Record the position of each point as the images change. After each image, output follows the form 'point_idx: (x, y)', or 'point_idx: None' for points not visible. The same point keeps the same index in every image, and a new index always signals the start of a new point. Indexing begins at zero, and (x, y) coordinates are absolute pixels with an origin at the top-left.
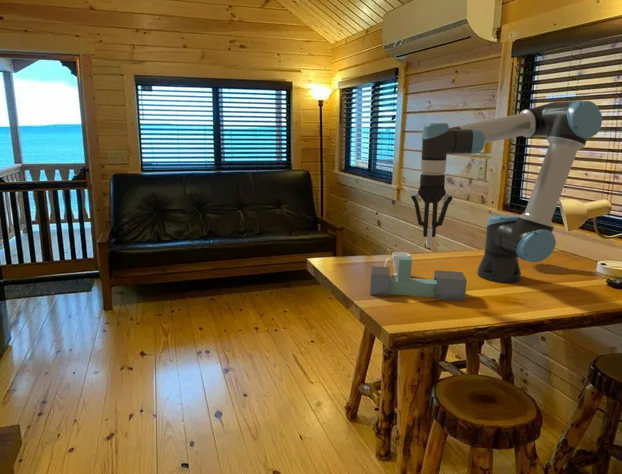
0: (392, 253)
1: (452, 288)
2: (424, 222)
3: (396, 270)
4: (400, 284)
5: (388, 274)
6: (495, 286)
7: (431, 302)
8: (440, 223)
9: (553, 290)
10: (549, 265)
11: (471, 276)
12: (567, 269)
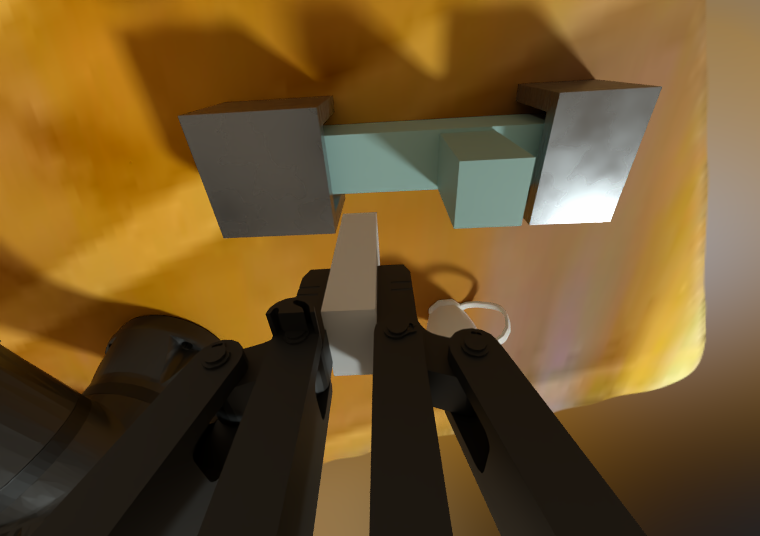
0: None
1: (256, 105)
2: (422, 361)
3: (462, 312)
4: (479, 124)
5: (563, 106)
6: (165, 281)
7: (347, 53)
8: (208, 360)
9: (9, 285)
10: None
11: (244, 340)
12: None
